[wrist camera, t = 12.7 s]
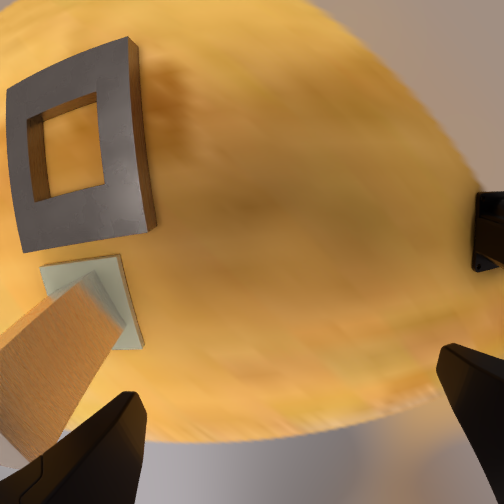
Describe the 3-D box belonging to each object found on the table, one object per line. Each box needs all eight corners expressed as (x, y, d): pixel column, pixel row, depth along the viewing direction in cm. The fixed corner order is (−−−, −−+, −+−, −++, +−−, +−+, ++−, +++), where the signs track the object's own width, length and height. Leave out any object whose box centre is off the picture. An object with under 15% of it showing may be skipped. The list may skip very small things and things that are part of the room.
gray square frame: (138, 47, 15) (128, 36, 13) (157, 225, 18) (147, 232, 16) (22, 93, 15) (6, 89, 13) (38, 245, 18) (23, 253, 16)
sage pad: (119, 254, 19) (116, 256, 18) (144, 344, 20) (142, 349, 20) (43, 264, 19) (39, 267, 18) (70, 345, 20) (67, 349, 20)
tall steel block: (94, 269, 18) (-36, 387, 6) (126, 325, 19) (41, 472, 7) (53, 291, 19) (-61, 394, 6) (84, 341, 20) (-2, 465, 7)
